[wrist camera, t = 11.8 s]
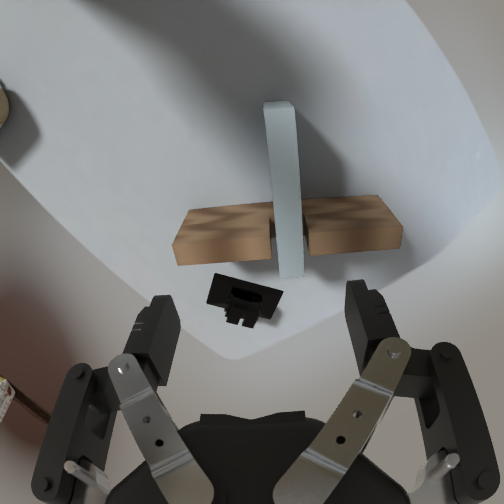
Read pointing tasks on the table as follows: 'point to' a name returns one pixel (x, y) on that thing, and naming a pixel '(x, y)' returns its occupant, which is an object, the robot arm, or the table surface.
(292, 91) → the table surface
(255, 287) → the black plastic bracket
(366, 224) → the brown wooden board
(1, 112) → the ceramic mug
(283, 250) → the blue grey block
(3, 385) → the juice carton
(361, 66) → the table surface
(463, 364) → the robot arm
